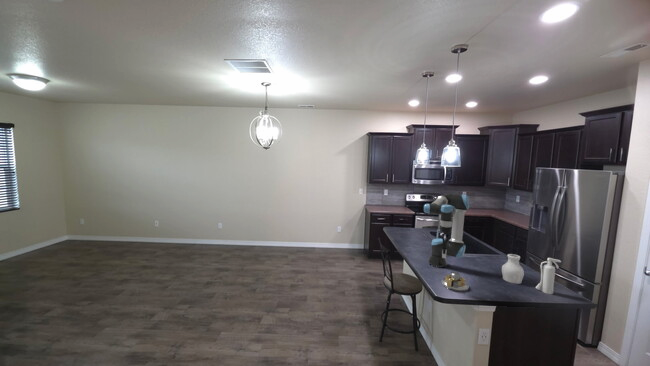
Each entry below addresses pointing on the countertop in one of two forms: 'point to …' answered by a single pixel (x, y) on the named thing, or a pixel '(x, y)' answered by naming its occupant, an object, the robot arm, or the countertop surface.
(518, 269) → the vase
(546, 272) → the fire extinguisher
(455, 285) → the flange
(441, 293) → the countertop surface
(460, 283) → the gold crown ring
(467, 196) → the robot arm
